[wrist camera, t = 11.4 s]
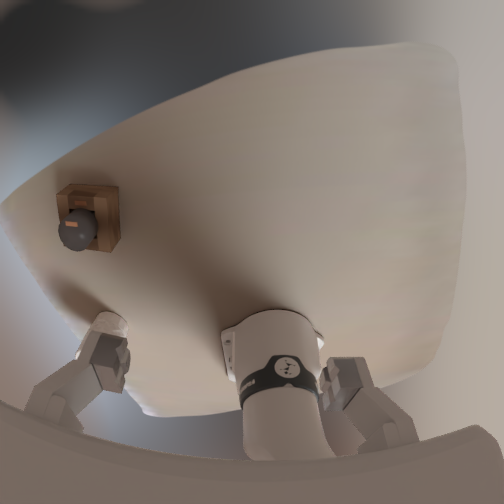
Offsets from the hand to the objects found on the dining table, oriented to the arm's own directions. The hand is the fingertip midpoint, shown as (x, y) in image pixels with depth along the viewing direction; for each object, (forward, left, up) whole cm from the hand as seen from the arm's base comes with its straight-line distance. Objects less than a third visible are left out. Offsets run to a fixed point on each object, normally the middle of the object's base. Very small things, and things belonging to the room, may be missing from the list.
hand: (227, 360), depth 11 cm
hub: (-9, +20, -29) cm, 36 cm away
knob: (-9, +20, -28) cm, 36 cm away
